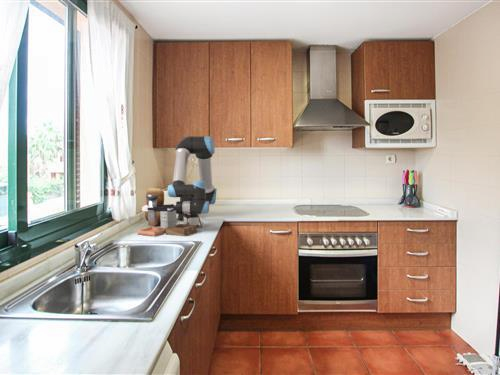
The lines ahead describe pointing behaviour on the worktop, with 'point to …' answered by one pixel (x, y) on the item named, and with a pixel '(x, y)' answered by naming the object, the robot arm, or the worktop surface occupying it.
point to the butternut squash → (159, 202)
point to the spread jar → (193, 219)
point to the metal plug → (151, 214)
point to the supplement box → (168, 218)
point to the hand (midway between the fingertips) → (143, 208)
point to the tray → (152, 231)
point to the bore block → (181, 229)
